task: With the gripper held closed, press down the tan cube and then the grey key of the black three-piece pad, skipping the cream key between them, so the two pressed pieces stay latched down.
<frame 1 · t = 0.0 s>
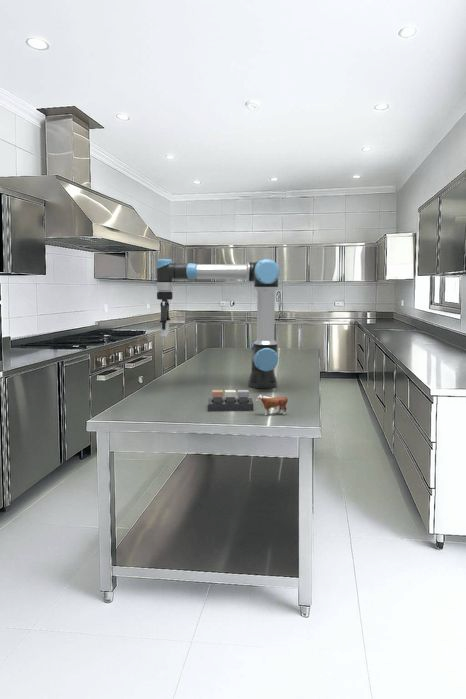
hand: (165, 335, 270), 28 cm above the table, fingers open, 13 cm apart
tan cube: (217, 397, 237), point 5 cm above the table, slide at 0.0 cm
grey key: (243, 396, 238), point 5 cm above the table, slide at 0.0 cm
keypad base: (230, 407, 238), on the table
cream key: (230, 396, 238), point 5 cm above the table, slide at 0.0 cm
bull figurine: (271, 414, 227), on the table
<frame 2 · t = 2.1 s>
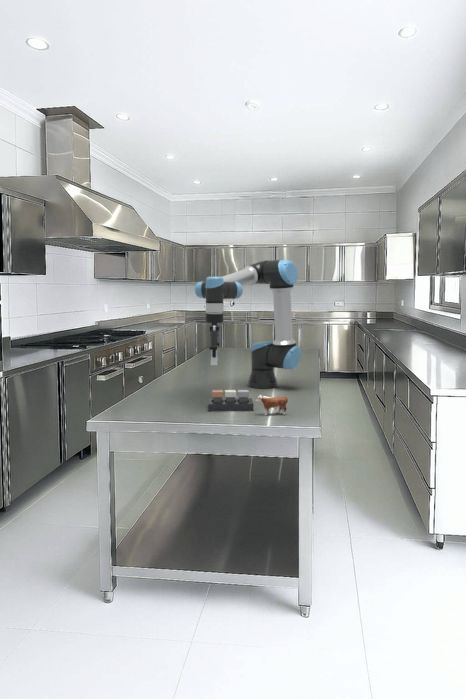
hand: (214, 362, 237), 19 cm above the table, fingers open, 13 cm apart
nothing on the table moved.
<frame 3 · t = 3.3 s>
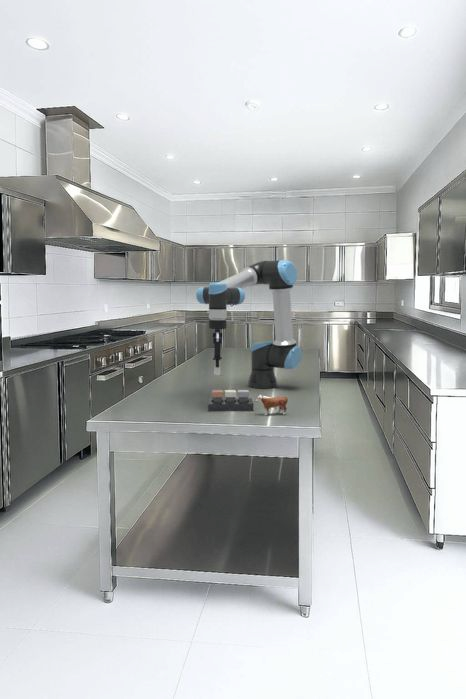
hand: (217, 374, 236), 15 cm above the table, fingers closed
nothing on the table moved.
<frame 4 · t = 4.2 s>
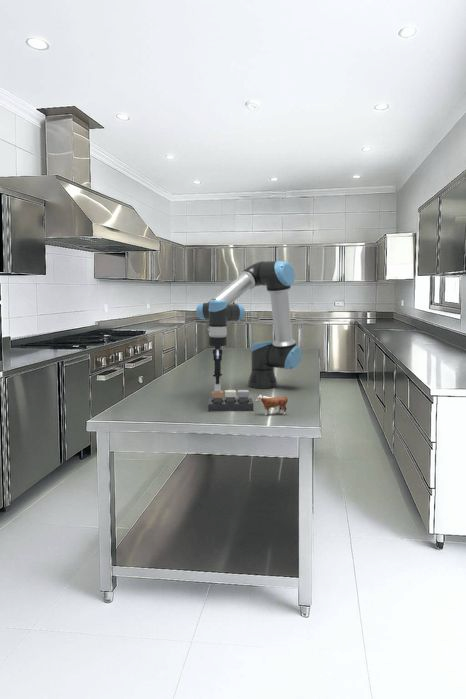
hand: (217, 391, 237), 7 cm above the table, fingers closed
tan cube: (217, 397, 238), point 5 cm above the table, slide at 0.3 cm, touching gripper
everything else where it was.
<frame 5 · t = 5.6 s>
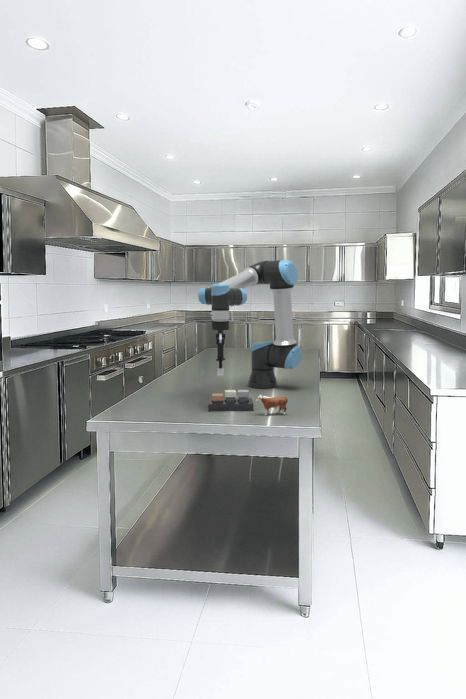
hand: (220, 375, 237), 14 cm above the table, fingers closed
tan cube: (217, 400, 238), point 3 cm above the table, slide at 1.5 cm
everything else where it was.
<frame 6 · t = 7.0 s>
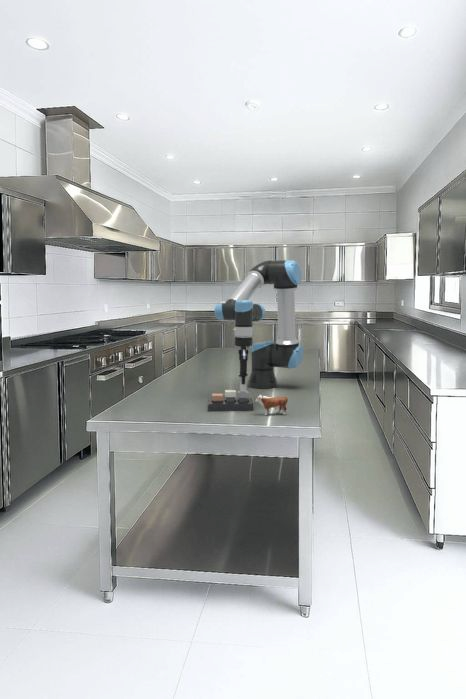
hand: (243, 391, 237), 7 cm above the table, fingers closed
grey key: (243, 397, 238), point 4 cm above the table, slide at 0.4 cm, touching gripper
everything else where it was.
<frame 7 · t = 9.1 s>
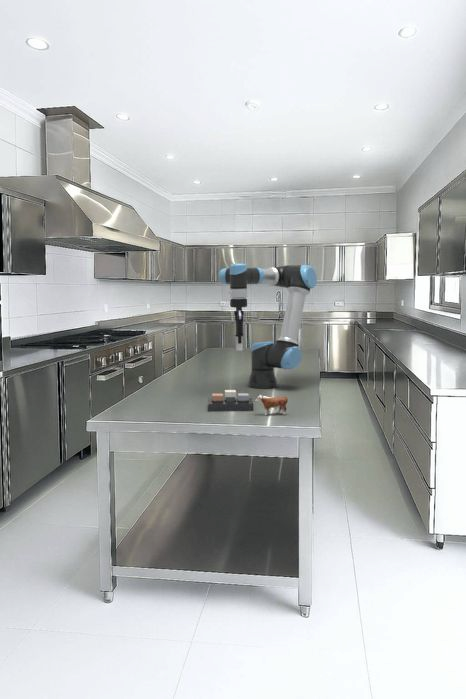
hand: (239, 350, 251), 23 cm above the table, fingers closed
grey key: (243, 400, 238), point 3 cm above the table, slide at 1.5 cm
everything else where it was.
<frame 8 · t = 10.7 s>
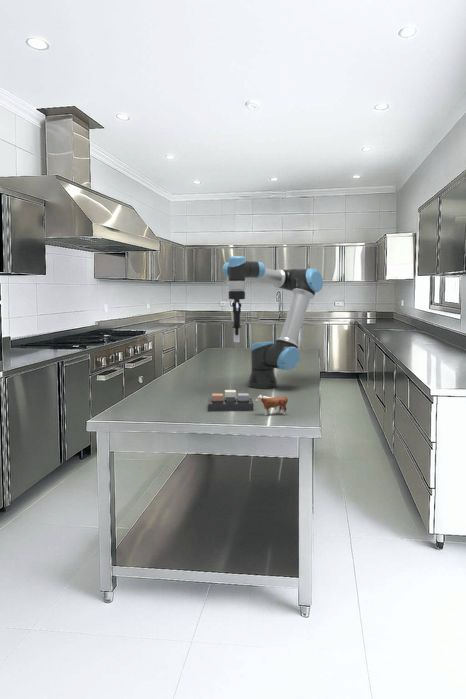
hand: (236, 341, 255), 26 cm above the table, fingers closed
nothing on the table moved.
at the end: tan cube slide at 1.5 cm; grey key slide at 1.5 cm; cream key slide at 0.0 cm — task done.
